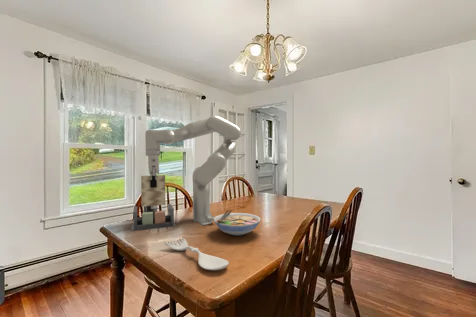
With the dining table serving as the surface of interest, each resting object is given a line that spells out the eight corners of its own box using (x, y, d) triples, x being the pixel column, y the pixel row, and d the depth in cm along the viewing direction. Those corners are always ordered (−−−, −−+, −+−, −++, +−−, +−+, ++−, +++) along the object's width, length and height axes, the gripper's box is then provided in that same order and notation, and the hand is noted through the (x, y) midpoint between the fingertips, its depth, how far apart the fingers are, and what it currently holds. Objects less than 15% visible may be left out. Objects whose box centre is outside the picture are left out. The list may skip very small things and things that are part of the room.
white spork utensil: (182, 243, 101) (182, 235, 101) (234, 268, 78) (234, 258, 78) (163, 249, 95) (163, 241, 94) (213, 278, 72) (213, 267, 72)
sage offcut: (152, 225, 122) (152, 211, 122) (153, 227, 118) (152, 213, 118) (142, 226, 120) (142, 212, 120) (142, 228, 117) (142, 214, 116)
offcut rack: (172, 221, 133) (172, 203, 133) (175, 228, 120) (175, 208, 120) (132, 226, 125) (132, 206, 125) (131, 234, 112) (131, 212, 112)
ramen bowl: (257, 244, 99) (257, 225, 99) (206, 240, 103) (206, 222, 103) (262, 227, 123) (262, 211, 123) (221, 224, 128) (221, 209, 128)
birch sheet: (164, 203, 129) (164, 175, 129) (165, 204, 127) (165, 175, 127) (141, 205, 124) (141, 175, 124) (141, 206, 122) (141, 176, 122)
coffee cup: (147, 222, 132) (147, 196, 132) (138, 219, 138) (138, 194, 138) (162, 218, 140) (162, 194, 140) (153, 216, 146) (153, 192, 145)
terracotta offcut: (164, 223, 124) (164, 210, 124) (165, 225, 121) (165, 212, 121) (154, 224, 123) (154, 211, 122) (155, 226, 119) (155, 213, 119)
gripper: (161, 152, 119) (161, 188, 120) (159, 153, 134) (159, 185, 134) (145, 152, 116) (146, 189, 117) (145, 153, 131) (145, 185, 131)
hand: (153, 186), depth 125 cm, fingers closed on birch sheet, 2 cm apart
